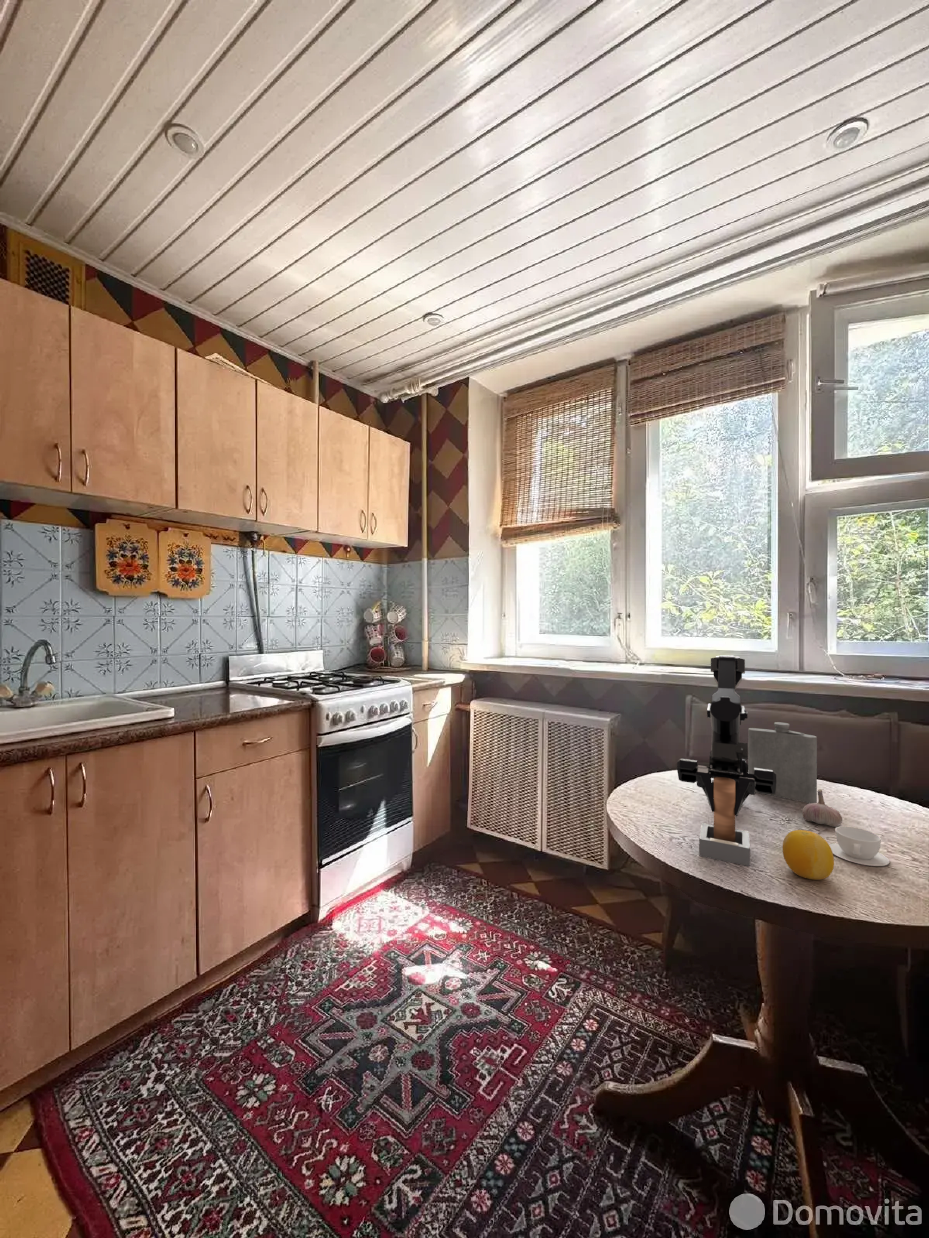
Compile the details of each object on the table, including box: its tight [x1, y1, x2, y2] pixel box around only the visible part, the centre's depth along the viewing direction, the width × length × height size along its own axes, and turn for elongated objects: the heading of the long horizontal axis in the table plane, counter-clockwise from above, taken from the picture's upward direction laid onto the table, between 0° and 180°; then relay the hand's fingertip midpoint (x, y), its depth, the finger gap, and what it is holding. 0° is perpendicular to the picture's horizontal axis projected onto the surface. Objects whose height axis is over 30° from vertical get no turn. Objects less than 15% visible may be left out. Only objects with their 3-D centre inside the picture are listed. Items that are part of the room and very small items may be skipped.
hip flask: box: [747, 721, 818, 804], centre depth 136 cm, size 16×4×20 cm, turn 50°
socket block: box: [698, 822, 751, 867], centre depth 103 cm, size 9×9×4 cm
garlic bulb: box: [802, 788, 843, 828], centre depth 118 cm, size 8×7×8 cm
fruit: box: [782, 829, 835, 881], centre depth 94 cm, size 9×8×8 cm
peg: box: [713, 777, 736, 842], centre depth 103 cm, size 4×4×13 cm
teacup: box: [829, 825, 891, 867], centre depth 102 cm, size 10×10×5 cm
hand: (724, 812), depth 102 cm, fingers closed on peg, 4 cm apart
